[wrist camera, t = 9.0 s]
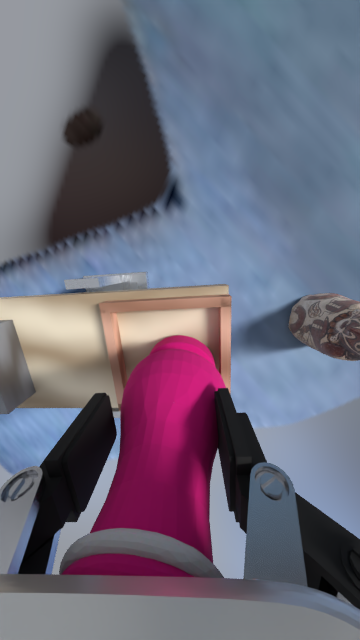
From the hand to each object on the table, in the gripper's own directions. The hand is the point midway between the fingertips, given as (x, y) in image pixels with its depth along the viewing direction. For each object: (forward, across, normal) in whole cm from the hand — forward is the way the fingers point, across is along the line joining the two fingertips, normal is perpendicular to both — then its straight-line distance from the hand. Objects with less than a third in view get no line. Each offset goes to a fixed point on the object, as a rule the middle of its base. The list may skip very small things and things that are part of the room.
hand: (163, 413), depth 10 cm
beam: (+9, +7, 0) cm, 11 cm away
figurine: (+16, -19, 0) cm, 25 cm away
